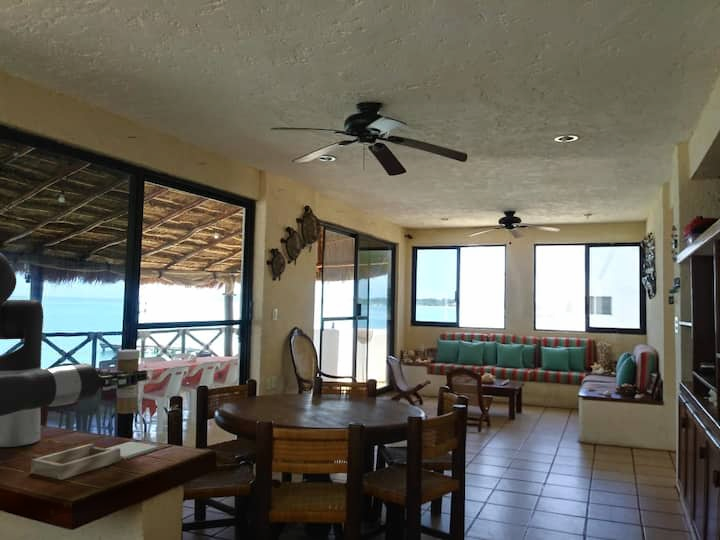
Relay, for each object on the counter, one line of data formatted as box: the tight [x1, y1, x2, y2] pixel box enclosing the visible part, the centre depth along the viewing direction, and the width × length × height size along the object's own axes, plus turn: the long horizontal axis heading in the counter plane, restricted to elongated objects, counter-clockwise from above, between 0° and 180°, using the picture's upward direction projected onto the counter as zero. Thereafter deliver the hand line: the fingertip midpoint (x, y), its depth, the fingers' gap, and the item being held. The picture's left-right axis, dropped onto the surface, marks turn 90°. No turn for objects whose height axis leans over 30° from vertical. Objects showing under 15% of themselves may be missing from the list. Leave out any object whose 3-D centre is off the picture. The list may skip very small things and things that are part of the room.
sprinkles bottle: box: [115, 349, 141, 414], centre depth 125 cm, size 5×5×13 cm
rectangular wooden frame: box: [30, 443, 121, 481], centre depth 114 cm, size 13×9×2 cm
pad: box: [105, 441, 159, 460], centre depth 124 cm, size 9×9×1 cm
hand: (137, 374), depth 127 cm, fingers closed on sprinkles bottle, 4 cm apart
